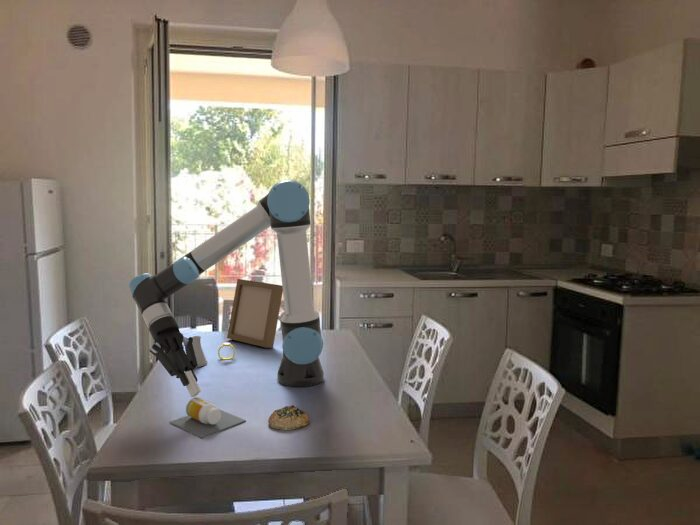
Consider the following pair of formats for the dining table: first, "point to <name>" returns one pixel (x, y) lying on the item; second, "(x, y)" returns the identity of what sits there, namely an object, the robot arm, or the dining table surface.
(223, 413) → the mat
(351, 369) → the dining table surface
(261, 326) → the photo frame
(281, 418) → the bread roll
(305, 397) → the dining table surface
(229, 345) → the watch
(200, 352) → the flask
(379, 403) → the dining table surface
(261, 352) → the dining table surface
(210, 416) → the supplement bottle
